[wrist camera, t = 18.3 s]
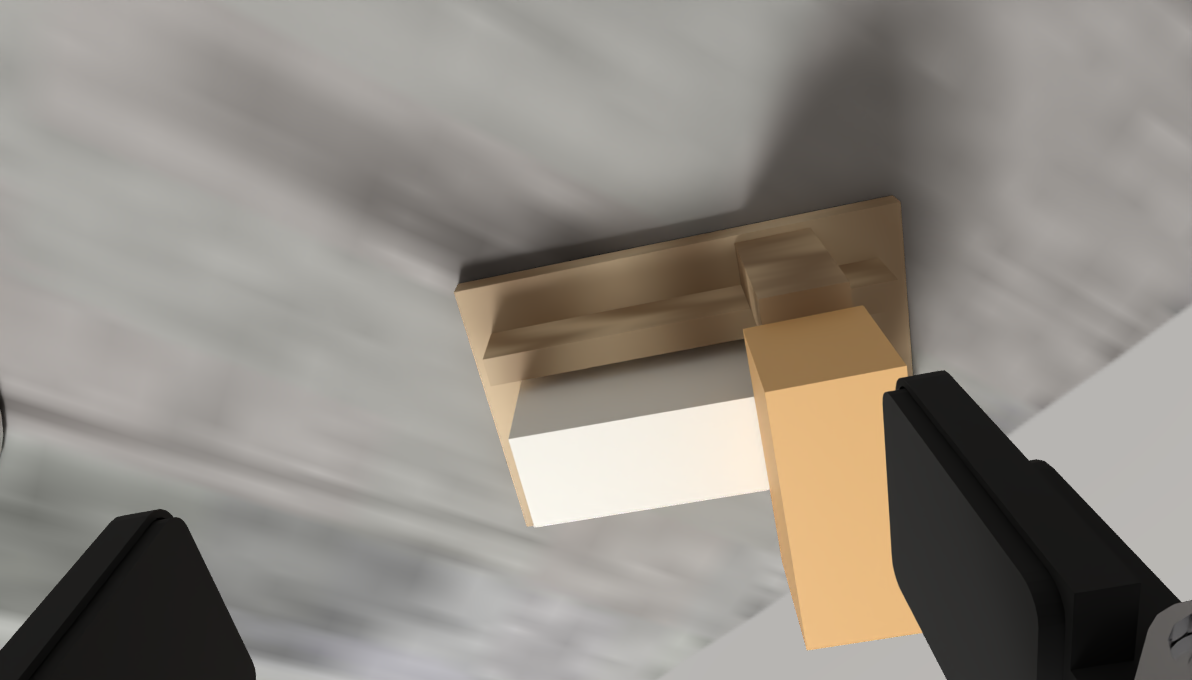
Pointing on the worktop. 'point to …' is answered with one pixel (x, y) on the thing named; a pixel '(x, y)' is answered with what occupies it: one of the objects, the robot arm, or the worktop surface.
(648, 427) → the white rectangular block
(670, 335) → the cradle
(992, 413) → the worktop surface
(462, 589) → the worktop surface
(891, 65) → the worktop surface
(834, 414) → the light orange rectangular block
